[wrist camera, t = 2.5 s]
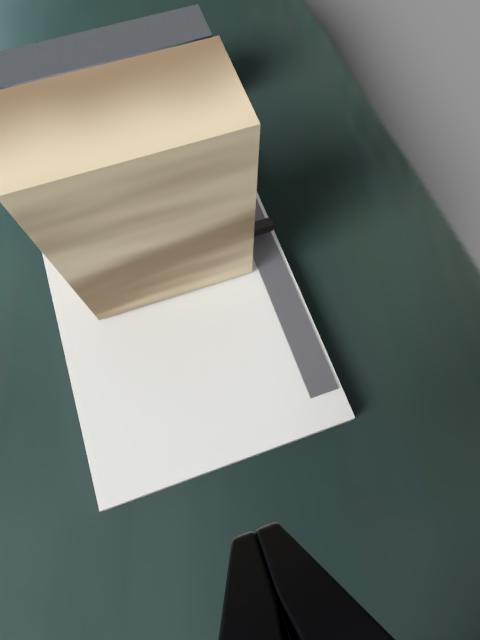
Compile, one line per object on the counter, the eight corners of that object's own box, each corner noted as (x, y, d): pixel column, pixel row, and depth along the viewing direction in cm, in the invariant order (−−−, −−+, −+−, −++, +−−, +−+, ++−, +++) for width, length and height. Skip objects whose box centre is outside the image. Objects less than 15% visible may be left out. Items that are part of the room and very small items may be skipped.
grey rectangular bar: (215, 97, 27) (212, 35, 24) (19, 149, 26) (-18, 91, 22) (203, 68, 28) (198, 4, 25) (12, 117, 27) (-25, 57, 23)
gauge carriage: (284, 261, 23) (314, 109, 14) (99, 320, 22) (-5, 197, 13) (258, 200, 25) (269, 23, 15) (81, 252, 23) (-24, 95, 14)
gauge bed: (350, 420, 22) (357, 417, 20) (106, 510, 20) (97, 511, 19) (204, 82, 29) (203, 64, 28) (19, 129, 28) (9, 113, 27)
